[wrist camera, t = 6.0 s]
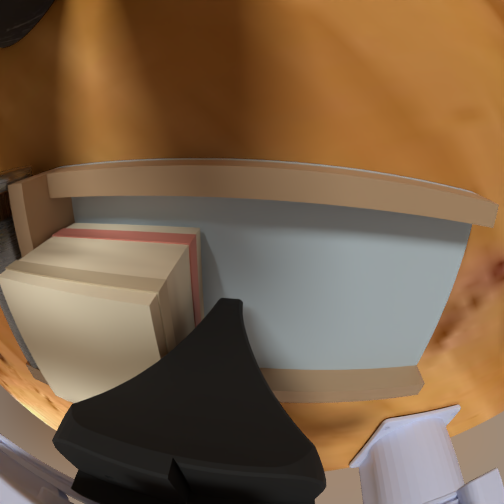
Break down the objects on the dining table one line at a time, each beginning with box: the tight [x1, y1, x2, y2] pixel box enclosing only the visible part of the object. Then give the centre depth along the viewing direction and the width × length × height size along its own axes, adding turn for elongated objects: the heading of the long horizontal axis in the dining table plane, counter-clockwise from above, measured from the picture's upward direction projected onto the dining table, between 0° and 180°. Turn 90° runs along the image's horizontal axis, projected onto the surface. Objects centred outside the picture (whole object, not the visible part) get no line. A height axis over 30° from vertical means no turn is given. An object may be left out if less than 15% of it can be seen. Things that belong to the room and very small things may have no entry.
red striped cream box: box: [0, 223, 205, 403], centre depth 10 cm, size 6×6×5 cm
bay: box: [8, 158, 499, 403], centre depth 11 cm, size 11×19×4 cm, turn 88°
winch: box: [0, 165, 49, 385], centre depth 10 cm, size 13×4×5 cm, turn 178°
